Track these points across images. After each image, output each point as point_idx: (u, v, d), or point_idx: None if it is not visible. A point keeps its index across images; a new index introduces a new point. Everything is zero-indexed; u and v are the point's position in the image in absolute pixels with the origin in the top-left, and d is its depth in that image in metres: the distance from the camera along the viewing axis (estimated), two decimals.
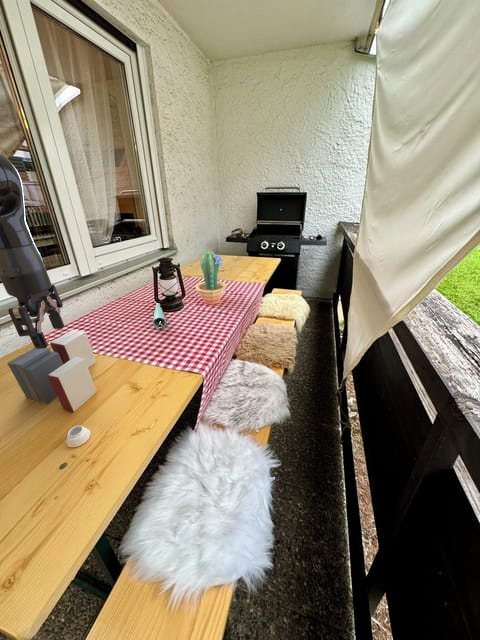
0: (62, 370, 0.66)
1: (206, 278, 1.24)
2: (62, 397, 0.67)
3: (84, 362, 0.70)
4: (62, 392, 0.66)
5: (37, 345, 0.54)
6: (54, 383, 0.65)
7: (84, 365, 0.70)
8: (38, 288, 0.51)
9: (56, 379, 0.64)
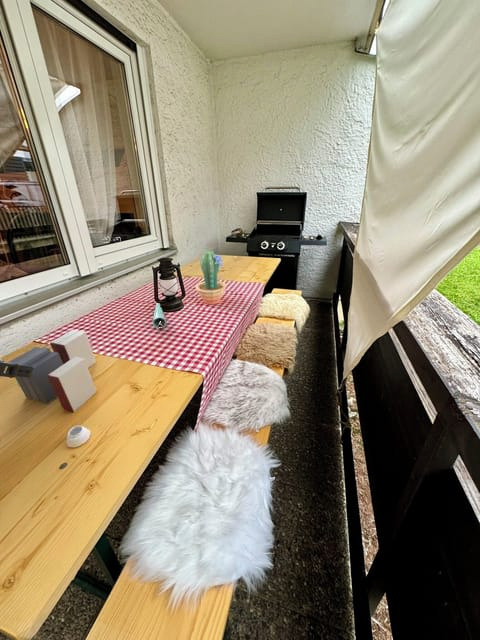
0: (62, 370, 0.66)
1: (206, 278, 1.24)
2: (62, 397, 0.67)
3: (84, 362, 0.70)
4: (62, 392, 0.66)
5: None
6: (54, 383, 0.65)
7: (84, 365, 0.70)
8: None
9: (56, 379, 0.64)
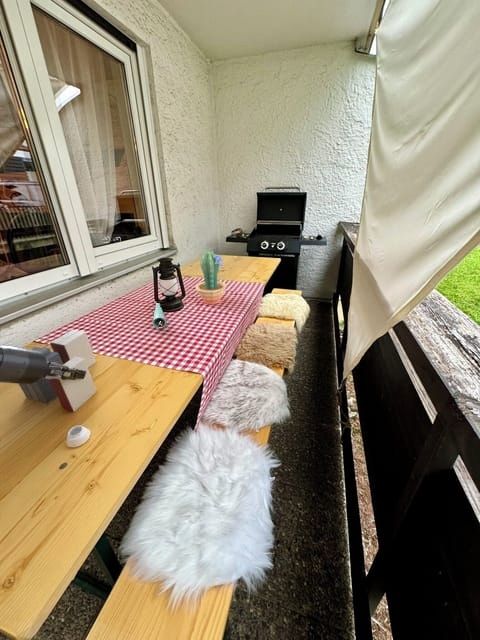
0: None
1: (206, 278, 1.24)
2: (62, 397, 0.67)
3: (84, 362, 0.70)
4: (62, 392, 0.66)
5: None
6: (54, 383, 0.65)
7: (84, 365, 0.70)
8: None
9: (56, 379, 0.64)
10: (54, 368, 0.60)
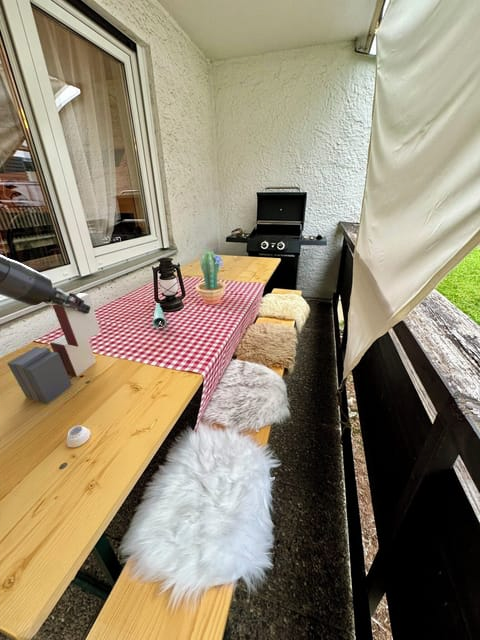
0: None
1: (206, 278, 1.24)
2: (66, 329, 0.67)
3: (88, 297, 0.71)
4: (67, 322, 0.66)
5: None
6: (59, 313, 0.65)
7: (88, 301, 0.71)
8: None
9: (61, 308, 0.64)
10: (59, 292, 0.60)
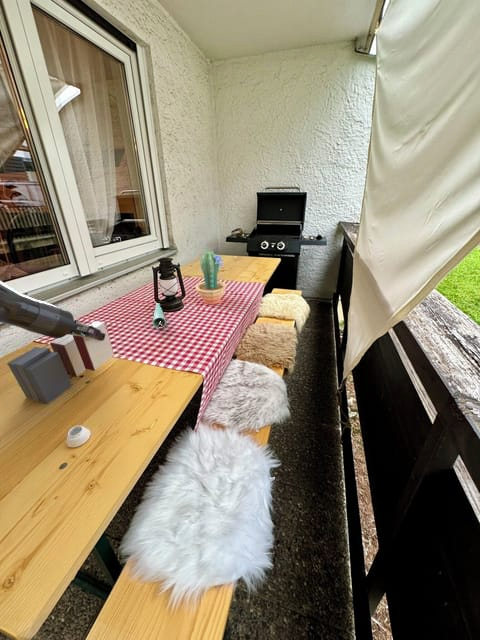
0: None
1: (206, 278, 1.24)
2: (84, 355, 0.74)
3: (104, 325, 0.78)
4: (85, 350, 0.73)
5: None
6: (78, 342, 0.72)
7: (103, 328, 0.78)
8: None
9: (80, 337, 0.71)
10: (80, 325, 0.67)
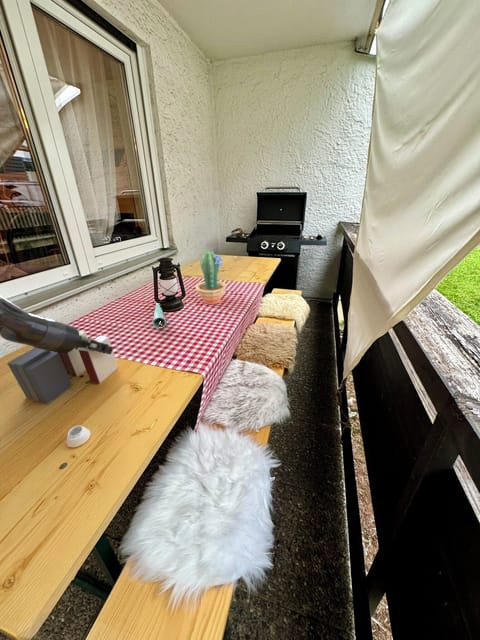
0: None
1: (206, 278, 1.24)
2: (90, 369, 0.77)
3: (108, 340, 0.80)
4: (91, 364, 0.75)
5: None
6: (84, 356, 0.75)
7: (108, 342, 0.80)
8: None
9: (86, 353, 0.73)
10: (85, 340, 0.69)
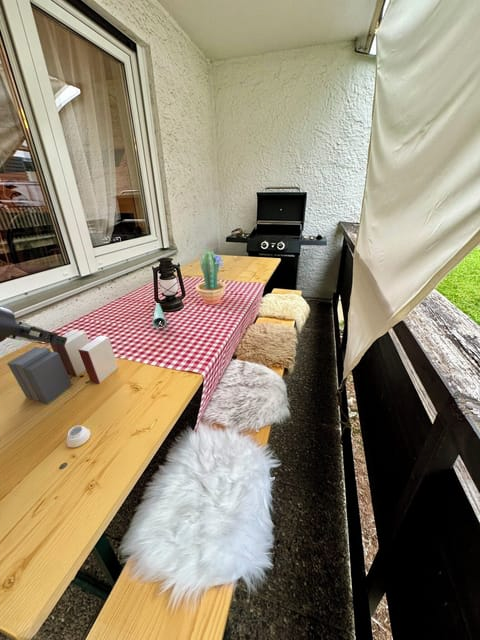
0: (90, 345, 0.76)
1: (206, 278, 1.24)
2: (90, 369, 0.77)
3: (108, 340, 0.80)
4: (91, 364, 0.75)
5: None
6: (84, 356, 0.75)
7: (108, 342, 0.80)
8: None
9: (86, 353, 0.73)
10: (24, 327, 0.54)
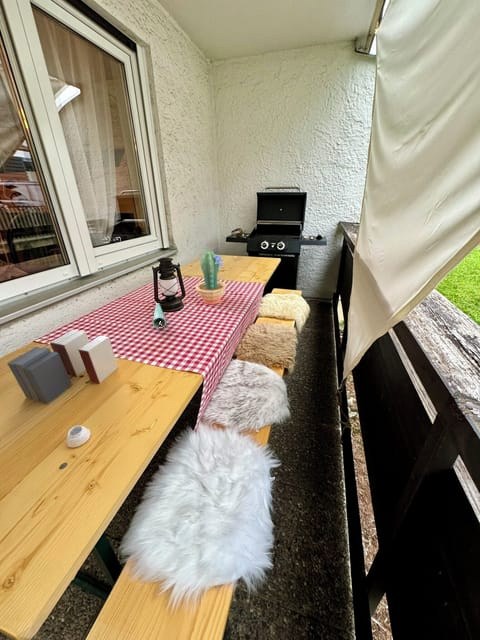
0: (90, 345, 0.76)
1: (206, 278, 1.24)
2: (90, 369, 0.77)
3: (108, 340, 0.80)
4: (91, 364, 0.75)
5: None
6: (84, 356, 0.75)
7: (108, 342, 0.80)
8: None
9: (86, 353, 0.73)
10: None
